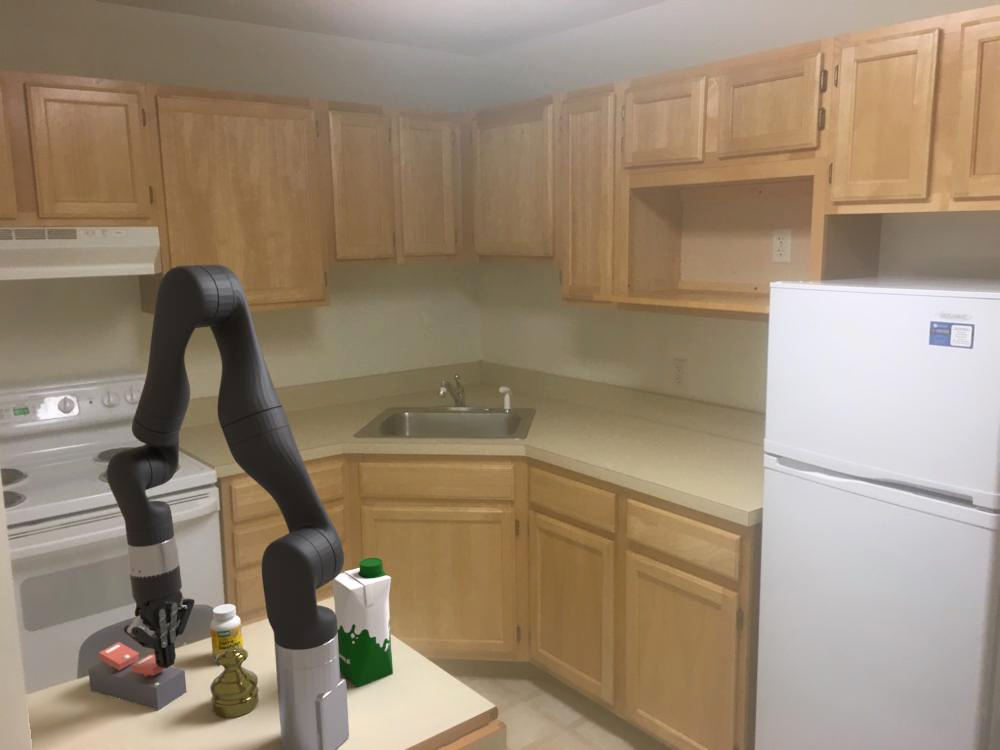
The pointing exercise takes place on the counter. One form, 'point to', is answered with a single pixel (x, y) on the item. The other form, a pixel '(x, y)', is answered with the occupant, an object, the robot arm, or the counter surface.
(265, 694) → the counter surface
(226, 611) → the supplement bottle
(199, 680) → the counter surface
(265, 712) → the counter surface
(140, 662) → the near rocker
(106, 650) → the far rocker
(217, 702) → the gold chess piece
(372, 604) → the milk carton
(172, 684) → the switch box
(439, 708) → the counter surface
